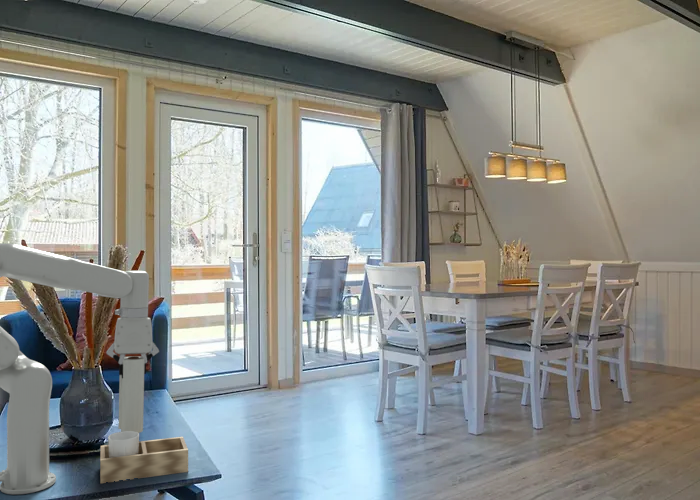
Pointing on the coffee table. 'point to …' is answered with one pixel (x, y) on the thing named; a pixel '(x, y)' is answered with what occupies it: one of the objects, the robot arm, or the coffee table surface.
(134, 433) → the white cup
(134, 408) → the paper towel roll
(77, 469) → the coffee table surface
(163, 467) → the wooden caddy
